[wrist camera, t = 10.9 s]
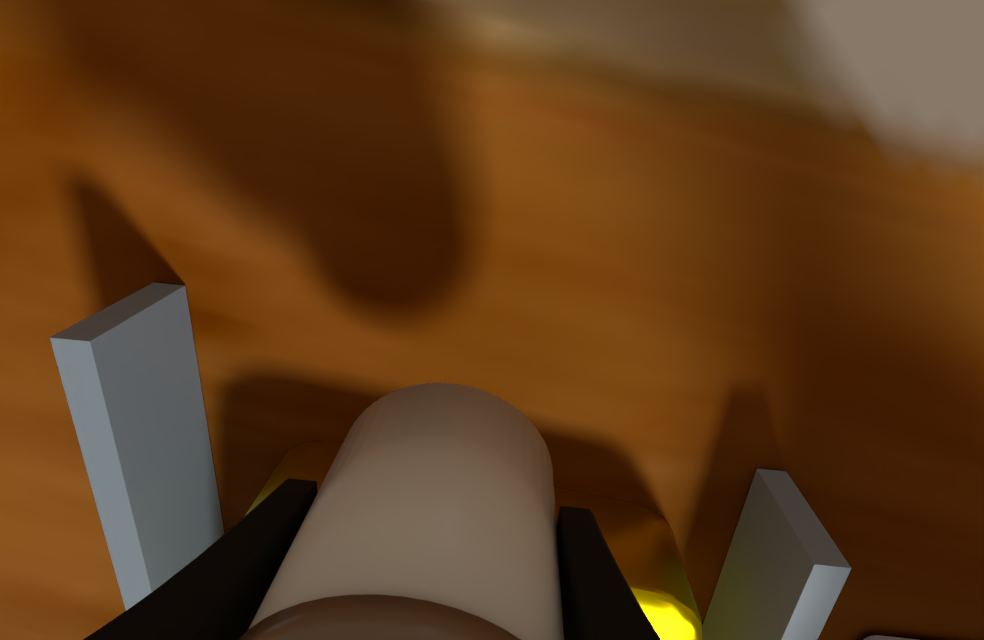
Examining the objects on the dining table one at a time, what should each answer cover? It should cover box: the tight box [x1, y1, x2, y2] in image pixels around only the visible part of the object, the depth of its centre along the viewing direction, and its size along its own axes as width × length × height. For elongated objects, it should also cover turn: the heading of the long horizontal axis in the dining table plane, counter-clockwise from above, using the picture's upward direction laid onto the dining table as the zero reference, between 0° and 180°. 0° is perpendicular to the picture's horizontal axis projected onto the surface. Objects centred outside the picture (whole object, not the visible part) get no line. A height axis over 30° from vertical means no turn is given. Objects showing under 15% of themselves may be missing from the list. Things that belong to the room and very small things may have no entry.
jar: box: [238, 383, 564, 640], centre depth 10 cm, size 5×5×6 cm
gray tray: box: [50, 283, 852, 640], centre depth 20 cm, size 21×24×4 cm
